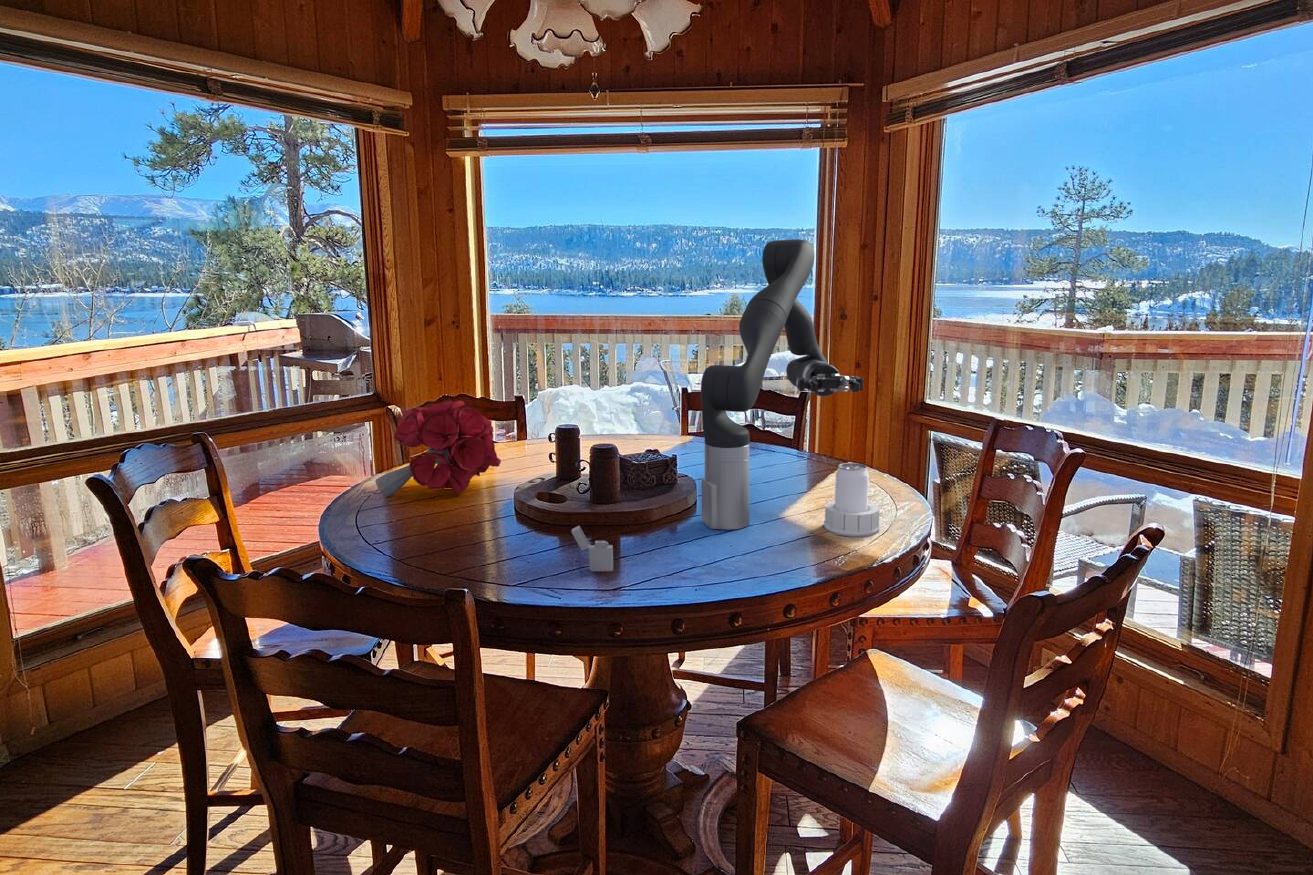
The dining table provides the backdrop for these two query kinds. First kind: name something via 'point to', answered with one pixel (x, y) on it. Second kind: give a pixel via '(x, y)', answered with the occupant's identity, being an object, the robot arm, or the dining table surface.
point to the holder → (852, 521)
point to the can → (851, 488)
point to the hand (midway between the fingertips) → (836, 388)
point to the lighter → (595, 552)
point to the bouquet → (443, 447)
